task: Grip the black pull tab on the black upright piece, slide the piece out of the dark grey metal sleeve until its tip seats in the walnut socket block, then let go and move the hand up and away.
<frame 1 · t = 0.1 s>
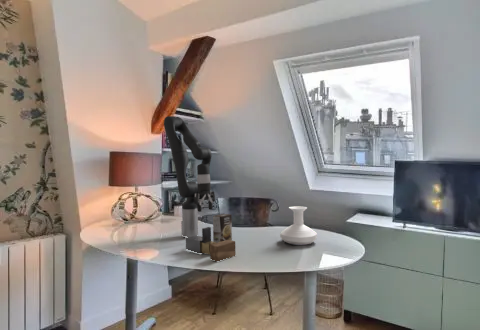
hand: (205, 210, 193), 17 cm above the table, tool pointing down, fingers open, 8 cm apart
black upright piece: (202, 238, 169), point 7 cm above the table, slide at 0.0 cm
candle holder: (298, 242, 186), on the table
coffee box: (222, 244, 185), on the table
socket: (222, 257, 160), on the table
sleeve: (198, 251, 171), on the table
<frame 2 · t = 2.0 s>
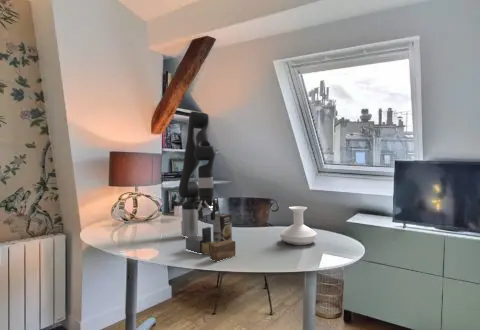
hand: (206, 219, 167), 17 cm above the table, tool pointing down, fingers open, 8 cm apart
nothing on the table moved.
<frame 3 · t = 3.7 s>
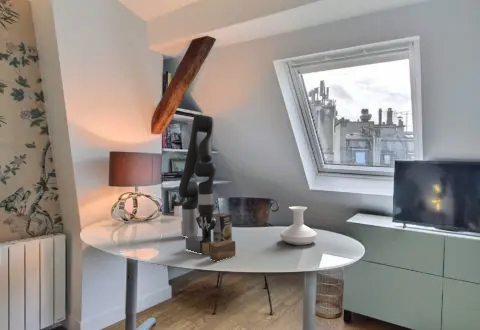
hand: (206, 237, 167), 8 cm above the table, tool pointing down, fingers closed, pressing on black upright piece
black upright piece: (202, 238, 169), point 7 cm above the table, slide at 0.0 cm, touching gripper
everything else where it was.
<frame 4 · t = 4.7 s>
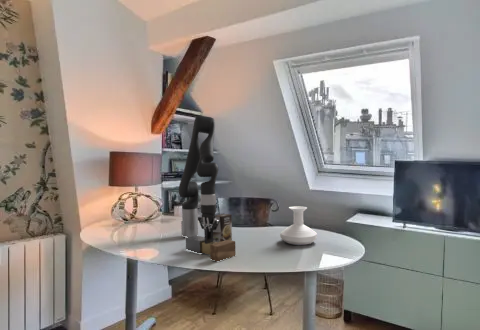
hand: (209, 238, 166), 8 cm above the table, tool pointing down, fingers closed on black upright piece
black upright piece: (204, 239, 168), point 7 cm above the table, slide at 1.6 cm, touching gripper
everything else where it was.
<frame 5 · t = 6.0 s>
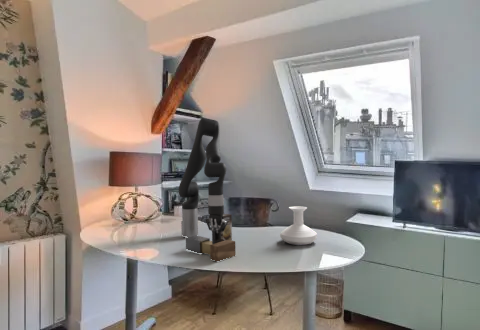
hand: (216, 239, 162), 8 cm above the table, tool pointing down, fingers closed on black upright piece
black upright piece: (211, 241, 165), point 7 cm above the table, slide at 6.9 cm, touching gripper
everything else where it was.
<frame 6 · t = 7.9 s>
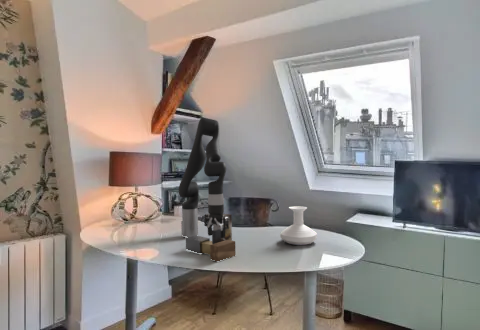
hand: (216, 236, 162), 10 cm above the table, tool pointing down, fingers open, 8 cm apart
black upright piece: (211, 241, 165), point 7 cm above the table, slide at 6.9 cm
everything else where it was.
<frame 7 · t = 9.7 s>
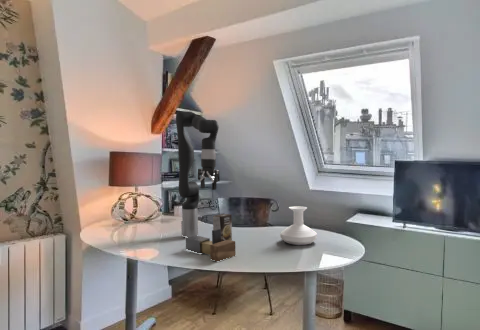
hand: (208, 189, 177), 31 cm above the table, tool pointing down, fingers open, 8 cm apart
nothing on the table moved.
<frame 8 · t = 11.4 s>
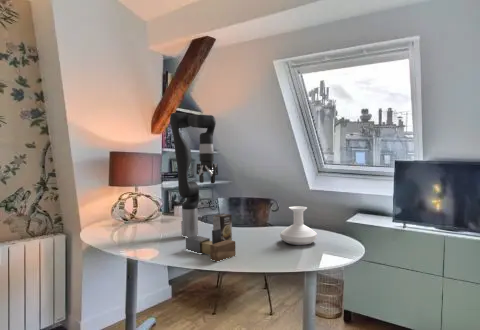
hand: (207, 182, 180), 34 cm above the table, tool pointing down, fingers open, 8 cm apart
nothing on the table moved.
at the end: black upright piece slide at 6.9 cm; the gripper is holding nothing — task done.
